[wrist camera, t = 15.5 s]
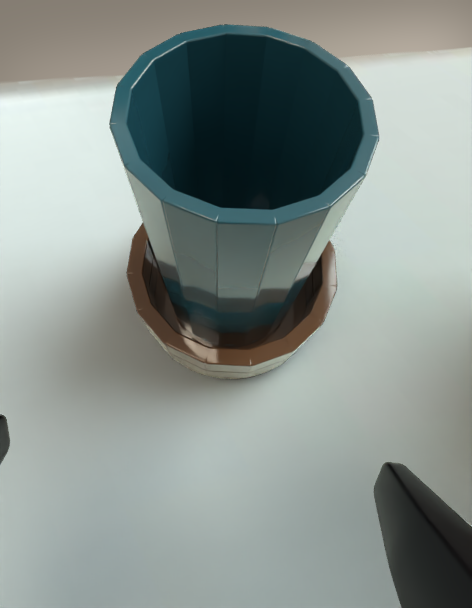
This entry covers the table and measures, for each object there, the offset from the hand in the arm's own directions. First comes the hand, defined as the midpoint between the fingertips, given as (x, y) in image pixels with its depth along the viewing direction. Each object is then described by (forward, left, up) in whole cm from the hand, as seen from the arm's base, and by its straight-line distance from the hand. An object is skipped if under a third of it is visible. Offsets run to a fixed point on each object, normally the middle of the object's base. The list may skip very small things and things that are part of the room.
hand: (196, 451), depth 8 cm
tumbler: (+5, -6, -8) cm, 11 cm away
